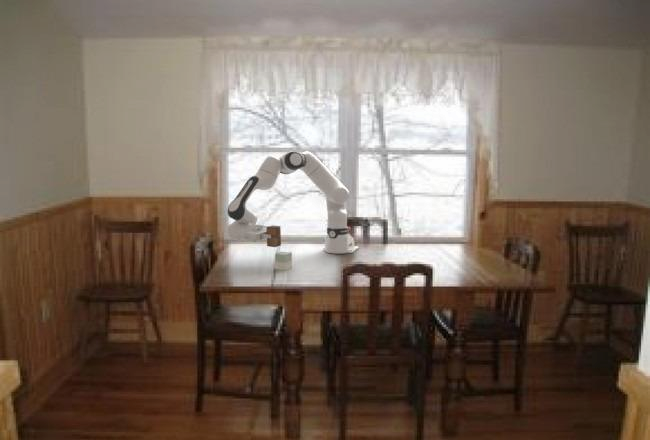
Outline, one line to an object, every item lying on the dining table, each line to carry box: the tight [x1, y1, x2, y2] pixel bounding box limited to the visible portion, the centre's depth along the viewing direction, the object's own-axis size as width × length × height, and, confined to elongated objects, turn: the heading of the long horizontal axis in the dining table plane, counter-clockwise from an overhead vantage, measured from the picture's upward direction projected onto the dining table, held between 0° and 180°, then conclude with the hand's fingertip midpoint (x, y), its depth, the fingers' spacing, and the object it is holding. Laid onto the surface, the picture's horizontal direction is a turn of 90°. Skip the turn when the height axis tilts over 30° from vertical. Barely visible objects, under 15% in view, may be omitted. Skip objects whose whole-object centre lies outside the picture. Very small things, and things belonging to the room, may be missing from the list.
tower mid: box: [274, 251, 293, 263], centre depth 275 cm, size 6×6×4 cm
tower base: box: [274, 259, 293, 271], centre depth 276 cm, size 6×6×4 cm
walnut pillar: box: [266, 225, 282, 248], centre depth 277 cm, size 5×5×10 cm
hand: (275, 235), depth 276 cm, fingers closed on walnut pillar, 5 cm apart
